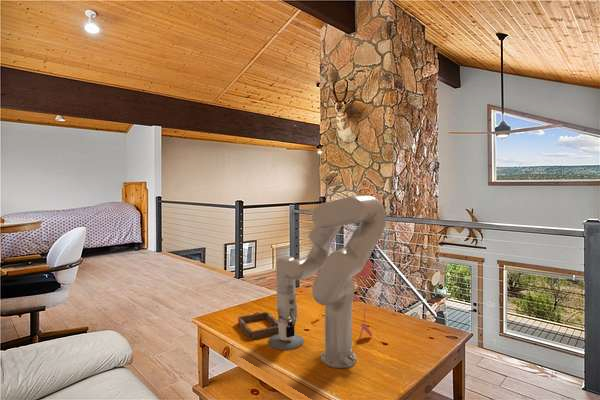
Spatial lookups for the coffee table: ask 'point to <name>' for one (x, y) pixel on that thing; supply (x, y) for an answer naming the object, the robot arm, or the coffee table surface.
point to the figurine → (365, 274)
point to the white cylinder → (283, 329)
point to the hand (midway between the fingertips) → (286, 332)
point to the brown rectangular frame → (262, 332)
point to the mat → (286, 342)
